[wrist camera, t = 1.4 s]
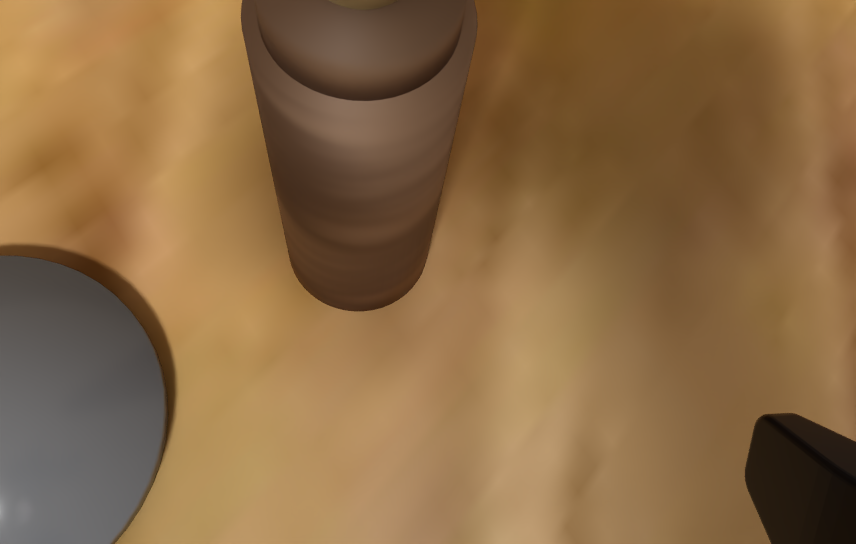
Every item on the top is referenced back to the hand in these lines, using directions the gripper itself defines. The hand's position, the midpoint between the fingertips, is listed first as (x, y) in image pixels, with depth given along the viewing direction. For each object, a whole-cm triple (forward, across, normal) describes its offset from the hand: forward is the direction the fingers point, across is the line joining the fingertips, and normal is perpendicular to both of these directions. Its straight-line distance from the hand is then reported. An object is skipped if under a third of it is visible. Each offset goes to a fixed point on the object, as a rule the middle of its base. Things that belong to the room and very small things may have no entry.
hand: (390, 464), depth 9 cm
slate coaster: (+12, +11, +7) cm, 17 cm away
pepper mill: (+16, 0, +4) cm, 16 cm away
